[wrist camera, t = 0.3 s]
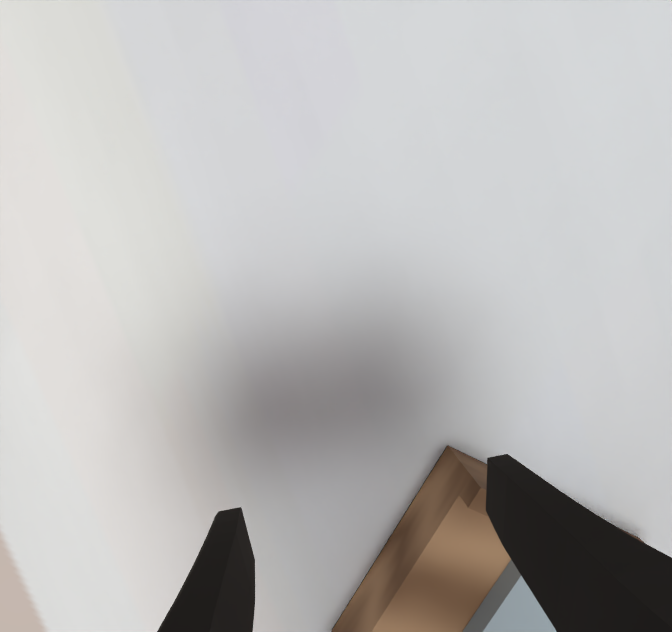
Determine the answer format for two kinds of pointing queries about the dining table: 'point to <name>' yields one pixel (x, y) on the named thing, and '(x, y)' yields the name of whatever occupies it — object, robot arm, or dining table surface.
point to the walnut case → (433, 557)
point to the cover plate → (510, 607)
